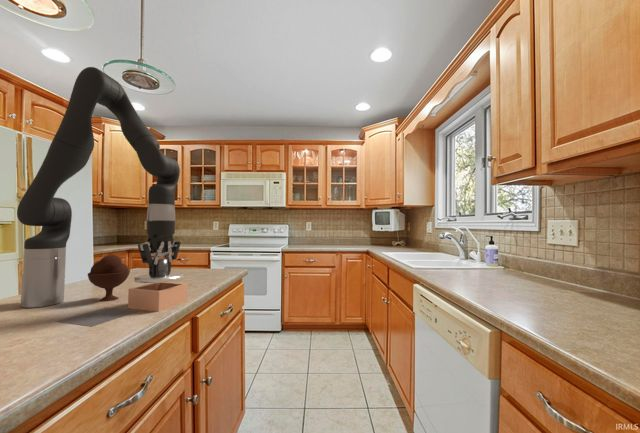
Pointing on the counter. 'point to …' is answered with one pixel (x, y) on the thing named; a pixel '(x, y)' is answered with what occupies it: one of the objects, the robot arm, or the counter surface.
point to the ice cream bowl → (108, 275)
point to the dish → (157, 296)
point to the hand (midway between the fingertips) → (160, 275)
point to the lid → (160, 274)
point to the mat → (97, 317)
